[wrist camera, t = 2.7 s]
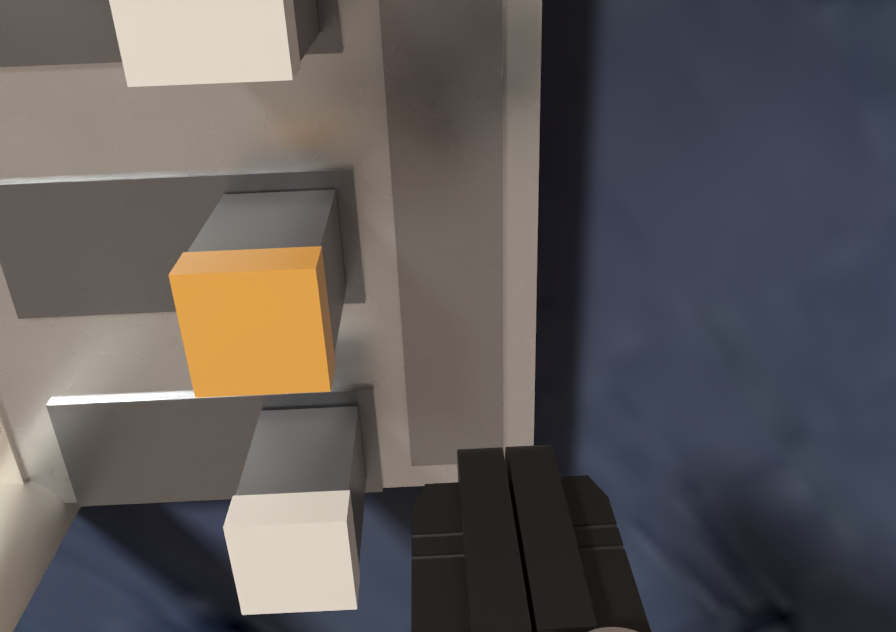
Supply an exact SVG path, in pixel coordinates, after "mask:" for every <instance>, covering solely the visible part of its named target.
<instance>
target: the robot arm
mask: <svg viewBox="0 0 896 632" xmlns="http://www.w3.org/2000/svg"><path fill="white" fill-rule="evenodd" d="M457 471H458V482H453V483H433V484H425V485H424V487H423V489H422V491H421V492H420V494H419V496H418V498H417V499H416V501H415V503H414V504H413V506H412V631H411V632H651V630H650V627H649V624H648V621H647V618H646V614H645V611H644V608H643V605H642V602H641V599H640V596H639V592H638V589H637V586H636V583H635V580H634V577H633V574H632V570H631V567H630V564H629V561H628V558H627V555H626V552H625V549H623V542H622V539H621V536H620V533H619V530H618V528H617V526H616V520H615V517H614V514H613V511H612V508H611V504H610V501H609V498H608V496H607V495H606V494H605V493H604V492H603V491H602V490H601V489H600V488H599V487H598V486H597V485H596V484H595V483H594V482H593V481H592V479H591V478H590V477H589V476H588V475H586V476H567V477H560V473H559V469H558V465H557V461H556V457H555V453H554V450H553V447H552V445H532V446H512V447H506V448H505V458H504V452H503V448H502V447H496V448H476V449H457Z"/></svg>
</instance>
